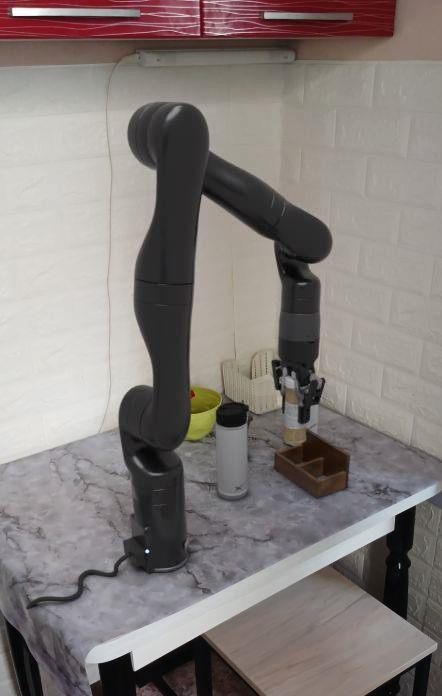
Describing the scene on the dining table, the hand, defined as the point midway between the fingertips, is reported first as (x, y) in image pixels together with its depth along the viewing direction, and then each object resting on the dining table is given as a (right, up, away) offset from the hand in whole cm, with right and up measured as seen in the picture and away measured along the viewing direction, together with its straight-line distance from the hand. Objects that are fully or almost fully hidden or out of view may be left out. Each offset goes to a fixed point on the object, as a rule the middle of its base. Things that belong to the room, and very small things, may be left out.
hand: (295, 417), depth 146 cm
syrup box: (+4, -4, +31) cm, 32 cm away
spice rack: (+5, -12, +17) cm, 21 cm away
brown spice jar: (0, -4, +2) cm, 5 cm away
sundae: (-10, -7, +26) cm, 28 cm away
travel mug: (-12, -15, +13) cm, 23 cm away
